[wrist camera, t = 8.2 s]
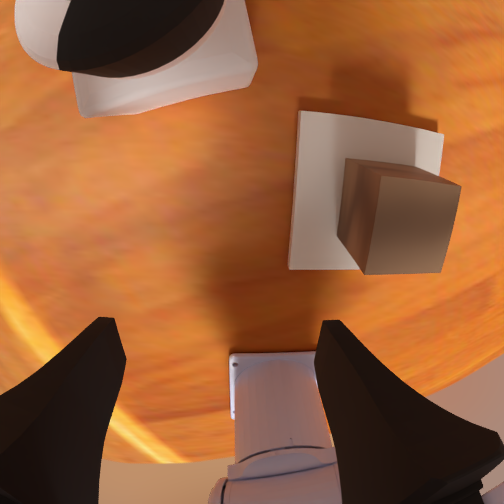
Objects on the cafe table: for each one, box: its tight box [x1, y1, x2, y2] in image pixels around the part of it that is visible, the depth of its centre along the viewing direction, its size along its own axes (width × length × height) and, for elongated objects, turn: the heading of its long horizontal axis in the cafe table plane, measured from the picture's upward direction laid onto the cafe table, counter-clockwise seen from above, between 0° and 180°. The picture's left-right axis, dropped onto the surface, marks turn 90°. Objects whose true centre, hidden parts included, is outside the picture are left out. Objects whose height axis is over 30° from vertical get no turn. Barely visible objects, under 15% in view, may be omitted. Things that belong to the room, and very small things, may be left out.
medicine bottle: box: [15, 0, 258, 118], centre depth 9 cm, size 7×7×12 cm
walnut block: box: [337, 158, 461, 275], centre depth 16 cm, size 5×5×5 cm
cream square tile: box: [288, 111, 444, 270], centre depth 19 cm, size 10×10×1 cm
